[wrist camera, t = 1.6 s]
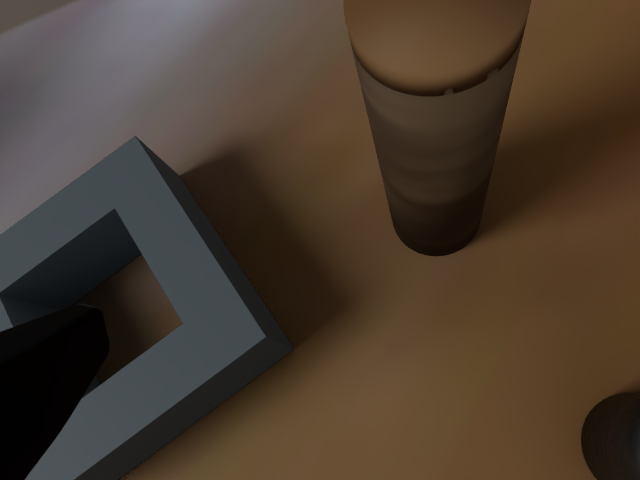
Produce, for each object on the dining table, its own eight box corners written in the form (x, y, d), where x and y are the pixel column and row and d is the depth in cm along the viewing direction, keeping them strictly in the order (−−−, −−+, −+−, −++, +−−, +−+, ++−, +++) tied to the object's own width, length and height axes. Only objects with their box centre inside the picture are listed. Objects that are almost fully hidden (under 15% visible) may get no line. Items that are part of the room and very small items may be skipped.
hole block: (294, 349, 22) (266, 337, 19) (96, 496, 22) (27, 514, 19) (178, 175, 26) (135, 135, 22) (6, 301, 26) (-67, 283, 22)
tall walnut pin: (499, 220, 22) (574, -7, 10) (428, 273, 22) (418, 108, 10) (442, 158, 24) (449, -110, 11) (375, 208, 23) (309, -7, 11)
